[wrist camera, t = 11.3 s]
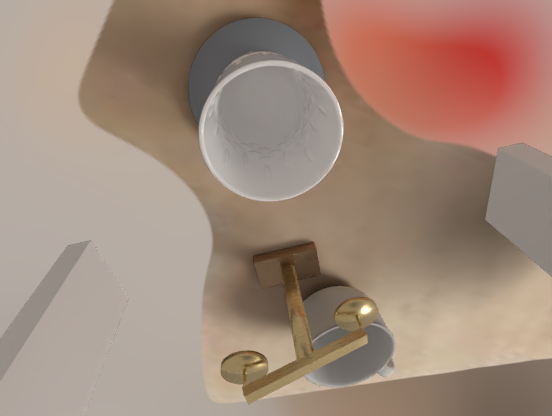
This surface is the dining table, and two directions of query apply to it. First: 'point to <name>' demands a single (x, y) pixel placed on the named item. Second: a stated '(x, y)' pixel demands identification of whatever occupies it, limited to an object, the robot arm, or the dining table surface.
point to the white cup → (270, 127)
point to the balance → (296, 325)
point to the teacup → (326, 331)
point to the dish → (238, 42)
